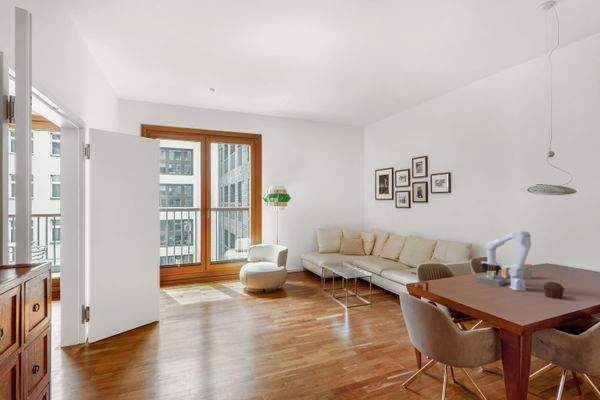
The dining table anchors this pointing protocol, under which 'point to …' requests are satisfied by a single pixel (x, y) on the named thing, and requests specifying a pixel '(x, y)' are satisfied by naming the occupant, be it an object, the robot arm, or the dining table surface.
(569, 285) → the dining table surface
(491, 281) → the base block
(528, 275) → the stack of blocks
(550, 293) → the muffin
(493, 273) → the sage cube
